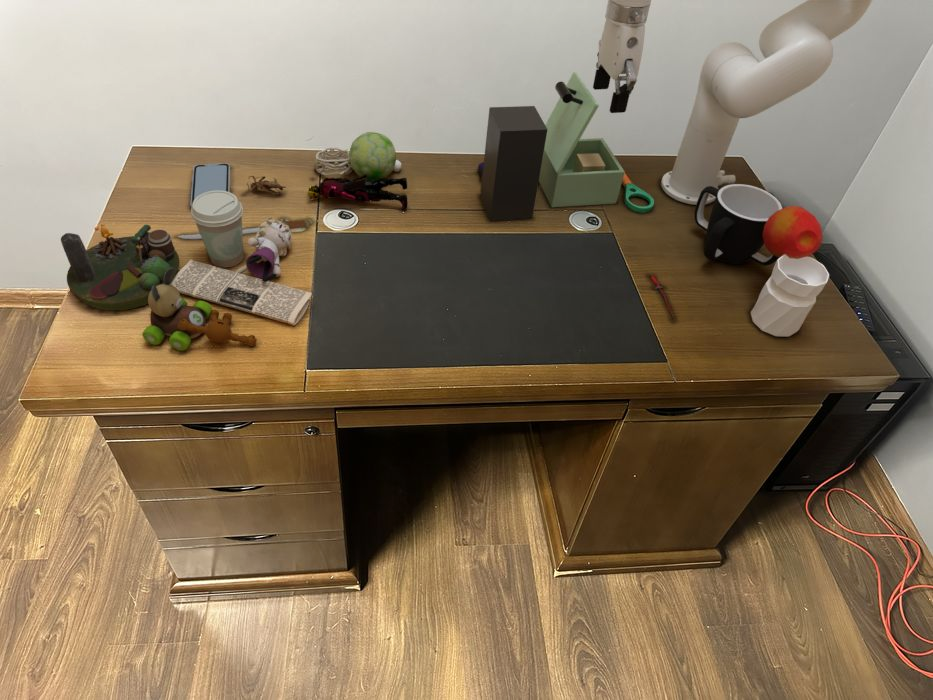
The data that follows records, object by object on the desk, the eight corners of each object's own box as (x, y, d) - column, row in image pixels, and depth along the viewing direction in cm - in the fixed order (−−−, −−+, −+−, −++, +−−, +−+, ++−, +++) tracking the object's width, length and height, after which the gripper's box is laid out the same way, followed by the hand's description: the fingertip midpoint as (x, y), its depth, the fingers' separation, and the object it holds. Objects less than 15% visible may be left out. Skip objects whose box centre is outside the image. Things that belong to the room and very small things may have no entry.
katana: (658, 273, 132) (657, 276, 132) (649, 273, 131) (648, 276, 132) (678, 322, 123) (677, 324, 124) (669, 322, 123) (668, 324, 124)
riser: (520, 193, 148) (534, 105, 133) (532, 218, 142) (547, 129, 127) (480, 196, 146) (489, 107, 132) (489, 221, 140) (500, 131, 126)
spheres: (365, 142, 158) (356, 143, 156) (366, 132, 156) (357, 133, 155) (402, 173, 150) (393, 174, 149) (404, 162, 149) (395, 163, 147)
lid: (576, 72, 139) (554, 64, 137) (599, 105, 130) (576, 97, 128) (541, 139, 148) (520, 132, 146) (559, 173, 139) (537, 167, 137)
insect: (280, 168, 137) (293, 182, 141) (243, 169, 139) (257, 182, 144) (274, 188, 135) (288, 201, 140) (238, 189, 138) (252, 201, 143)
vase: (759, 336, 122) (787, 285, 113) (744, 303, 128) (769, 252, 119) (806, 337, 123) (838, 287, 114) (789, 304, 129) (817, 253, 120)
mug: (773, 284, 132) (799, 233, 124) (689, 269, 134) (709, 218, 125) (763, 234, 144) (787, 185, 135) (686, 221, 145) (705, 171, 136)
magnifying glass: (657, 211, 147) (659, 205, 146) (631, 214, 146) (633, 207, 144) (629, 173, 157) (631, 166, 156) (604, 174, 156) (606, 168, 154)
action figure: (407, 188, 148) (313, 188, 147) (406, 161, 145) (310, 161, 143) (407, 219, 137) (305, 220, 135) (406, 191, 133) (301, 192, 132)
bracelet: (314, 163, 150) (350, 161, 152) (318, 179, 144) (356, 177, 147) (312, 145, 148) (350, 144, 150) (317, 161, 142) (355, 159, 144)
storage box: (595, 169, 157) (602, 137, 151) (616, 203, 148) (624, 171, 142) (534, 172, 154) (539, 140, 148) (551, 207, 145) (557, 175, 139)
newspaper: (293, 320, 114) (294, 327, 115) (312, 292, 119) (313, 299, 120) (166, 285, 118) (169, 292, 119) (189, 259, 122) (192, 266, 123)
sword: (178, 249, 127) (176, 233, 130) (178, 250, 127) (176, 234, 130) (313, 229, 134) (309, 214, 137) (314, 230, 134) (309, 215, 137)
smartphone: (189, 207, 135) (193, 164, 144) (190, 210, 135) (194, 168, 145) (229, 204, 136) (229, 162, 146) (229, 208, 137) (230, 166, 146)
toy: (253, 247, 114) (277, 203, 125) (206, 269, 117) (234, 225, 129) (284, 285, 118) (305, 239, 130) (238, 306, 122) (263, 260, 133)
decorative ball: (359, 115, 141) (376, 137, 150) (332, 155, 141) (351, 175, 150) (396, 136, 138) (411, 157, 148) (369, 178, 138) (386, 196, 148)
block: (593, 177, 153) (598, 153, 149) (599, 190, 150) (605, 165, 145) (571, 177, 152) (576, 153, 148) (577, 190, 149) (583, 166, 144)
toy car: (192, 354, 109) (175, 302, 101) (140, 342, 110) (120, 290, 102) (218, 315, 116) (205, 264, 108) (169, 305, 116) (152, 253, 108)
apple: (830, 205, 113) (800, 196, 125) (774, 222, 115) (750, 211, 126) (838, 258, 116) (808, 244, 128) (784, 274, 118) (759, 259, 129)
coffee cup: (209, 277, 122) (195, 221, 114) (198, 249, 127) (183, 194, 119) (257, 265, 125) (247, 210, 117) (244, 238, 130) (233, 184, 122)
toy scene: (76, 254, 124) (54, 204, 116) (181, 241, 128) (167, 192, 121) (66, 321, 112) (42, 271, 105) (183, 305, 117) (167, 255, 109)
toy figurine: (260, 315, 115) (258, 336, 110) (254, 333, 117) (252, 355, 111) (185, 296, 111) (179, 318, 105) (180, 315, 112) (174, 337, 107)
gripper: (665, 29, 120) (642, 120, 132) (629, -8, 131) (611, 79, 144) (625, 30, 119) (605, 122, 131) (592, -7, 130) (577, 81, 143)
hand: (608, 100), depth 137 cm, fingers open, 9 cm apart
